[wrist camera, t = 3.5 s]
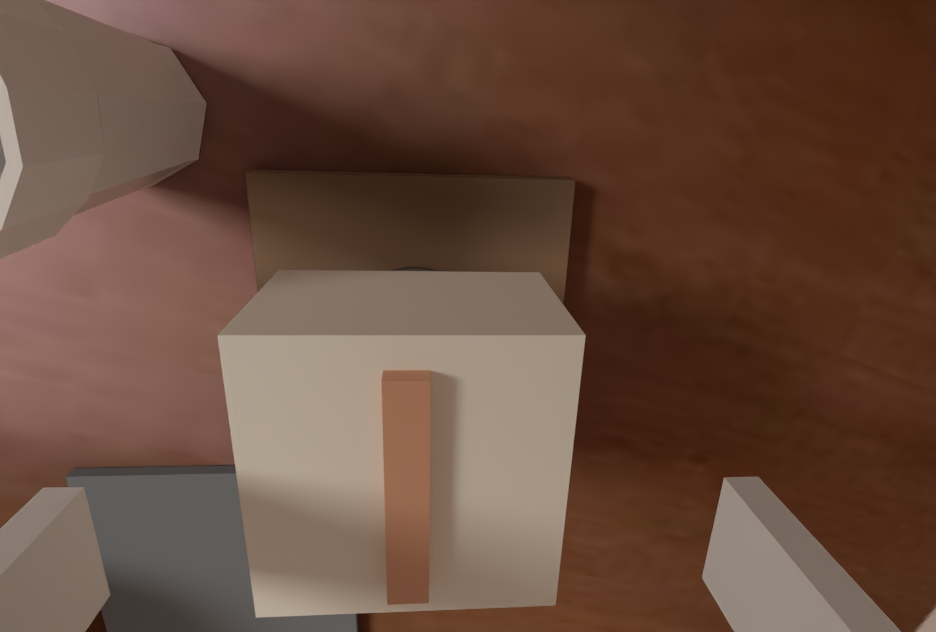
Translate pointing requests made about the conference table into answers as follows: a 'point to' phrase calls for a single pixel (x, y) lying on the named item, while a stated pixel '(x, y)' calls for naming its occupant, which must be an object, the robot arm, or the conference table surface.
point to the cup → (84, 118)
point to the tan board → (410, 223)
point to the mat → (179, 552)
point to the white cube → (402, 439)
